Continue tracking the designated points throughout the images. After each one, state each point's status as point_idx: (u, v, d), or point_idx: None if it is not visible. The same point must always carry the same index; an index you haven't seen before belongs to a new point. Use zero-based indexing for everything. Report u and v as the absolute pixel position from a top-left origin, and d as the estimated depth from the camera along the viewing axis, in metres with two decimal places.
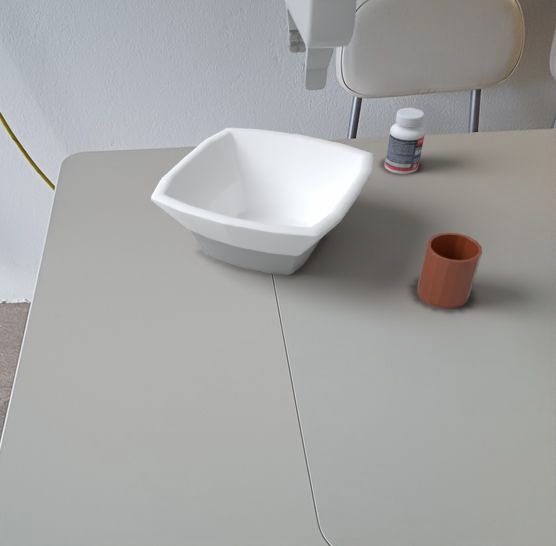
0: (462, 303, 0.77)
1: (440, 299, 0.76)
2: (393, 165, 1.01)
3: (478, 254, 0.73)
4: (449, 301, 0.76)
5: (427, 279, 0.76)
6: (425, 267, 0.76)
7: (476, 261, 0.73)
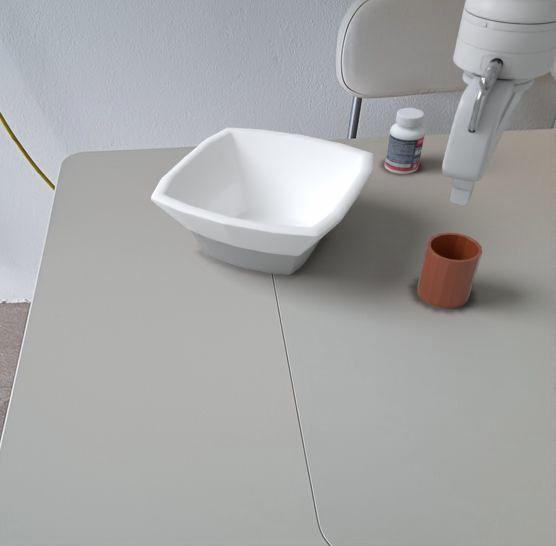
0: (462, 303, 0.77)
1: (440, 299, 0.76)
2: (393, 165, 1.01)
3: (478, 254, 0.73)
4: (449, 301, 0.76)
5: (427, 279, 0.76)
6: (425, 267, 0.76)
7: (476, 261, 0.73)
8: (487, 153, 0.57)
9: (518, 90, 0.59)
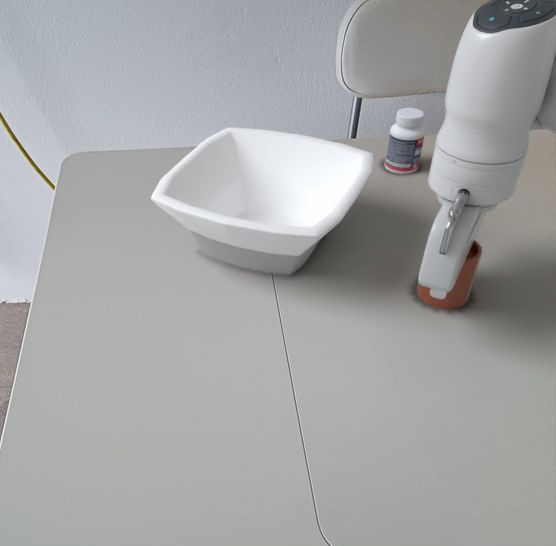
0: (462, 303, 0.77)
1: (440, 299, 0.76)
2: (393, 165, 1.01)
3: (478, 254, 0.73)
4: (449, 301, 0.76)
5: None
6: None
7: (476, 261, 0.73)
8: (456, 271, 0.65)
9: (484, 211, 0.68)
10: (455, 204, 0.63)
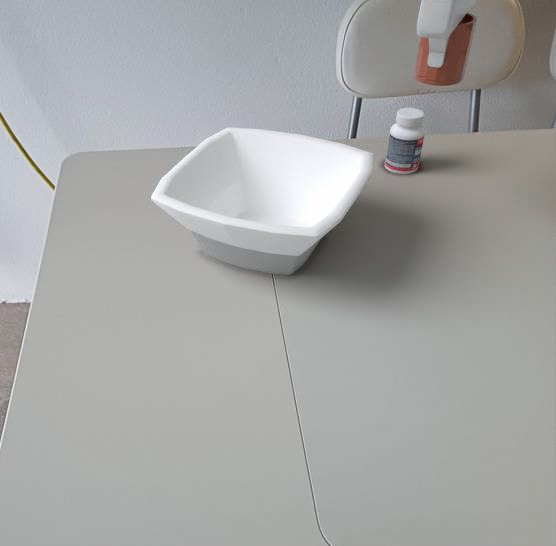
0: (458, 78, 0.80)
1: (437, 73, 0.79)
2: (393, 165, 1.01)
3: (472, 21, 0.76)
4: (445, 74, 0.79)
5: (424, 53, 0.79)
6: (422, 42, 0.79)
7: (471, 27, 0.76)
8: (453, 10, 0.69)
9: None
10: None
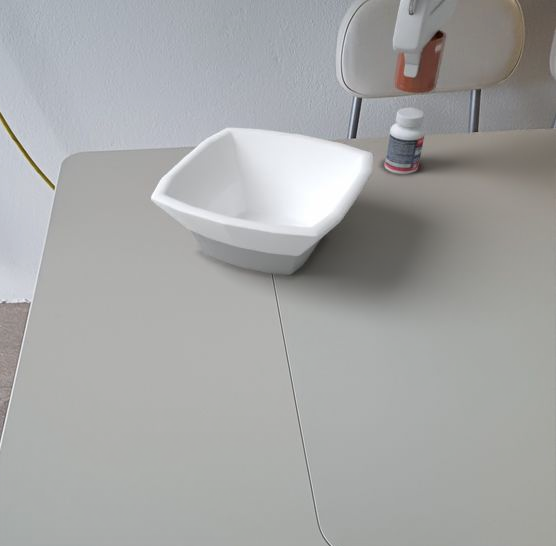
0: (431, 87, 0.92)
1: (412, 81, 0.91)
2: (393, 165, 1.01)
3: (442, 37, 0.88)
4: (419, 83, 0.91)
5: (401, 64, 0.91)
6: (399, 54, 0.91)
7: (441, 42, 0.88)
8: (422, 30, 0.81)
9: None
10: None
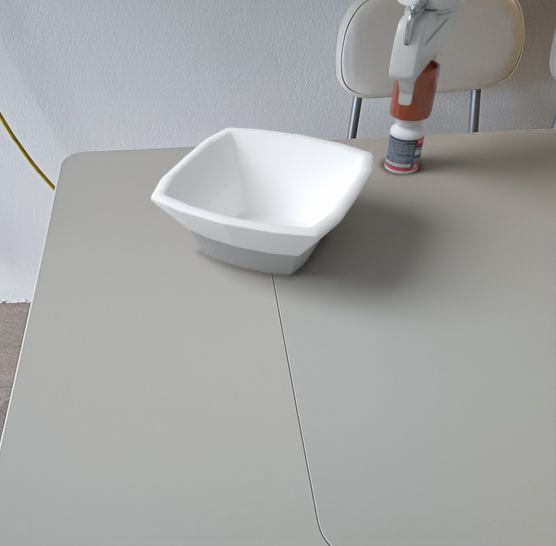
0: (425, 115, 0.95)
1: (407, 110, 0.94)
2: (393, 165, 1.01)
3: (436, 68, 0.91)
4: (414, 112, 0.94)
5: (397, 94, 0.94)
6: (395, 84, 0.94)
7: (435, 73, 0.91)
8: (418, 60, 0.83)
9: (441, 18, 0.85)
10: (416, 2, 0.81)
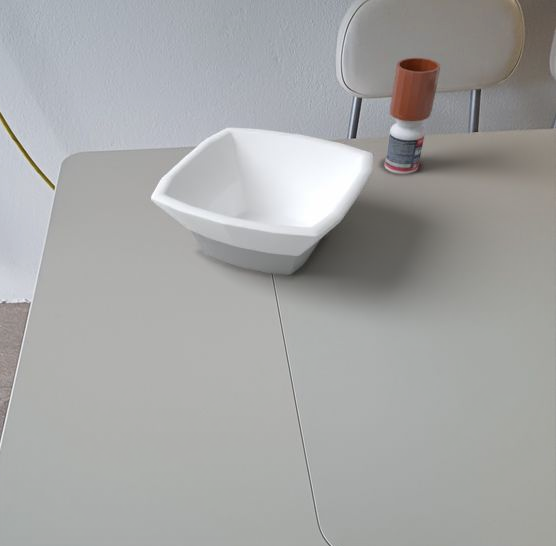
0: (425, 115, 0.95)
1: (407, 110, 0.94)
2: (393, 165, 1.01)
3: (436, 68, 0.91)
4: (414, 112, 0.94)
5: (397, 94, 0.94)
6: (395, 84, 0.94)
7: (435, 73, 0.91)
8: None
9: None
10: None
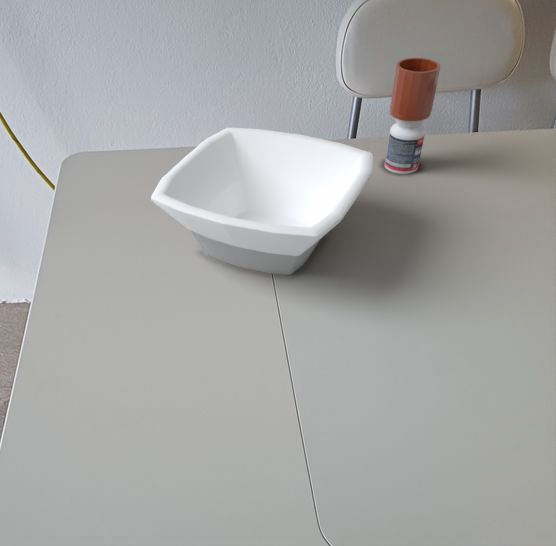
0: (425, 115, 0.95)
1: (407, 110, 0.94)
2: (393, 165, 1.01)
3: (436, 68, 0.91)
4: (414, 112, 0.94)
5: (397, 94, 0.94)
6: (395, 84, 0.94)
7: (435, 73, 0.91)
8: None
9: None
10: None
